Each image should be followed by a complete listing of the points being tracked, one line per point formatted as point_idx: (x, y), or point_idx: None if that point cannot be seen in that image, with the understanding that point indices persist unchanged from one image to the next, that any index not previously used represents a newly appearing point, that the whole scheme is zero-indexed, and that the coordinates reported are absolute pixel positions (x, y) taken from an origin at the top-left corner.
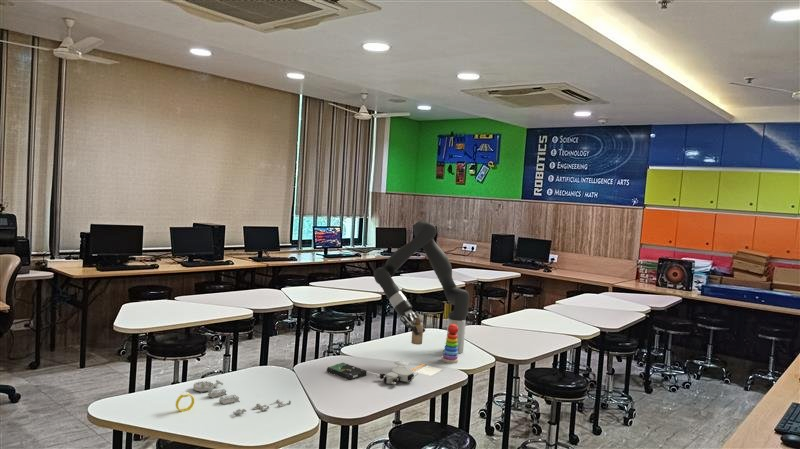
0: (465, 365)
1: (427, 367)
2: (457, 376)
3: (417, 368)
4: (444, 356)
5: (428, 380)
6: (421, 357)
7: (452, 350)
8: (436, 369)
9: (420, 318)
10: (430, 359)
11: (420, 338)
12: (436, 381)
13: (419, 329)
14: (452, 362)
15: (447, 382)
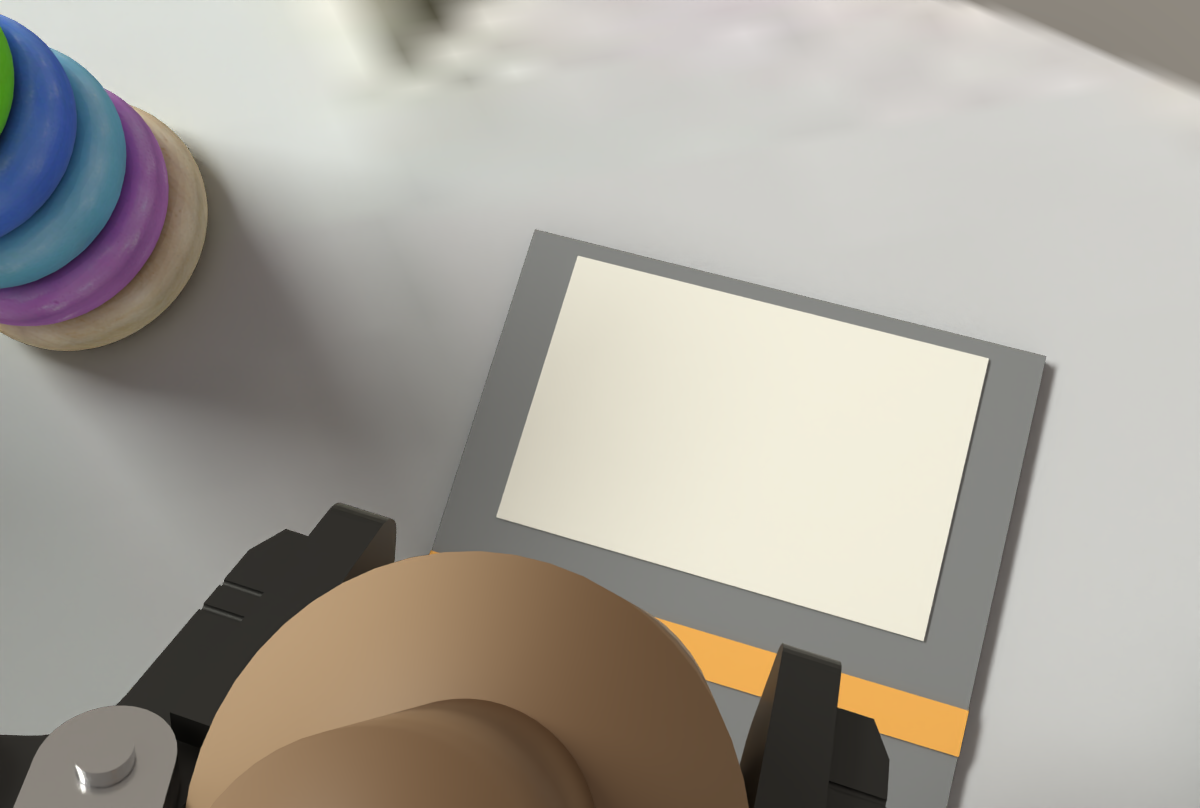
0: (192, 3)
1: (589, 490)
2: (751, 17)
3: (723, 637)
4: (126, 273)
5: (1164, 361)
6: (27, 708)
7: (72, 90)
8: (627, 335)
9: (444, 738)
10: (86, 540)
11: (660, 622)
12: (1141, 243)
13: (702, 679)
14: (197, 166)
15: (1095, 94)
